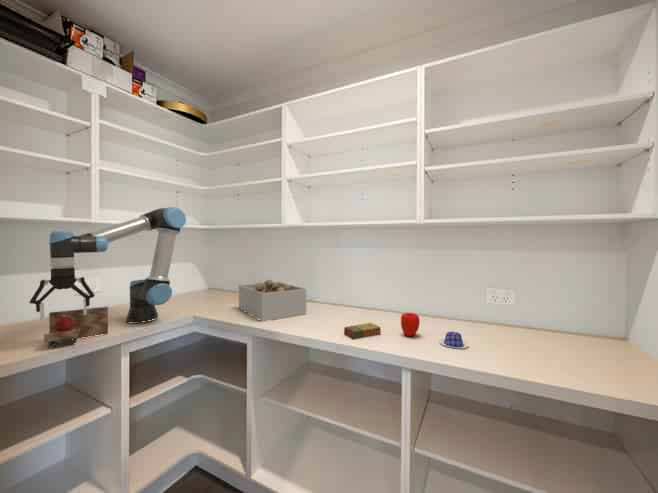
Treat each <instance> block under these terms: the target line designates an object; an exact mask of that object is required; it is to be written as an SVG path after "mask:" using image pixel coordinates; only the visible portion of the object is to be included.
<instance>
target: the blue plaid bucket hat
mask: <svg viewBox="0 0 658 493" xmlns="http://www.w3.org/2000/svg"><path fill="white" fill-rule="evenodd" d="M439 344H440V345H442V346H445V347H447V348H452V349H454V348H455V349H467V348H469V344H468V343H467V342H465V341H463V337H462V334H461V333H460V332H457V331H448V332H446V333H445V336H444V338H443V339H440V340H439Z"/></svg>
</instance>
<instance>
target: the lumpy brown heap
mask: <svg viewBox="0 0 658 493" xmlns="http://www.w3.org/2000/svg"><path fill="white" fill-rule="evenodd" d="M276 282H277V281H273V280H272V279H267V280H264V281H263V282H256V283H255V284H256V285H255V289H256V290H257V291H259V292H262V290H264V288H265V286H266V288H265V289H266V290H265V293H269V292H276V289H277V292H278V291H288V290H291V287H290V285H291V284H289V285H287V284H288V283H285V284H286V285H284V287H283V288H282V287H279V286H278V284H277V283H276ZM264 284H265V286H264ZM271 288H272V290H271ZM262 293H263V292H262Z"/></svg>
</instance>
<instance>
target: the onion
mask: <svg viewBox="0 0 658 493" xmlns="http://www.w3.org/2000/svg"><path fill="white" fill-rule="evenodd" d="M72 327H73V321H72V320H71V319H70V318H68V317H67V316H65V315H62V318H60V319H59V320H57V322H56V323H55V329H56V330H57V331H59V332H64V331H69V330H70V329H71V328H72Z"/></svg>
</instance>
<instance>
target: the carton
mask: <svg viewBox="0 0 658 493" xmlns="http://www.w3.org/2000/svg"><path fill="white" fill-rule="evenodd" d="M381 330H382V329H381V326H379V325H377V324H374V323H372V322H368V323H362V324H357V325H350V326H349V325H348V326H344V330H343V335H344V336H346V337H347V338H349V339H351V340H357V339H363V338H369V337H370V338H371V337H374V336H379V335H381V333H382V332H381Z"/></svg>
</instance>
